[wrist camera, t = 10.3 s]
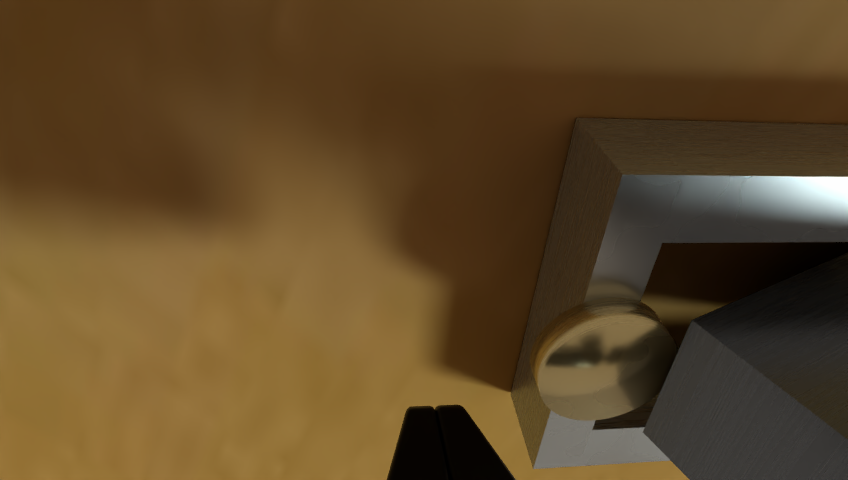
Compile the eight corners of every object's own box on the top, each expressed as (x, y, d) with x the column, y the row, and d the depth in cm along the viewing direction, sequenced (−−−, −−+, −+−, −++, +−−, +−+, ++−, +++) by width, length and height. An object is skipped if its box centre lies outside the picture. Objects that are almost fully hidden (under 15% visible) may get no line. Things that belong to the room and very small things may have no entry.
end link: (1033, 129, 11) (1193, 198, 9) (853, 379, 15) (936, 467, 13) (536, 117, 10) (590, 195, 8) (481, 395, 14) (507, 497, 12)
